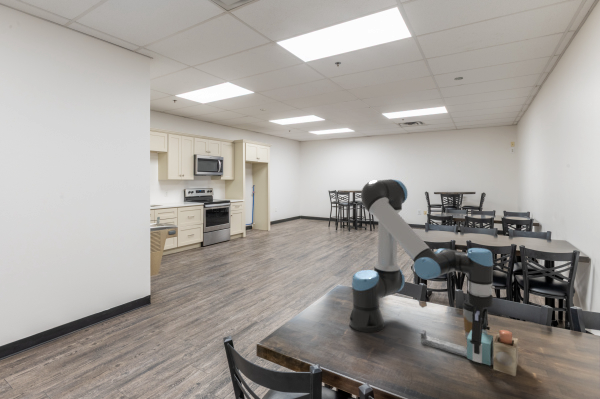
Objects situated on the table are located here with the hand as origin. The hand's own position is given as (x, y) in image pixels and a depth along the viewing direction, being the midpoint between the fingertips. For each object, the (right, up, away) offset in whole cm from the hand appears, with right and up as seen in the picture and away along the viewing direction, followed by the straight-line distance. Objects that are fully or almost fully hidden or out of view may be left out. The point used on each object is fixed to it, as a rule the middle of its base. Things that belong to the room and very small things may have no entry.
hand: (480, 353), depth 106 cm
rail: (-5, -2, +5) cm, 7 cm away
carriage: (0, -2, 0) cm, 2 cm away
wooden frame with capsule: (+6, -2, -5) cm, 8 cm away
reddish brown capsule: (+5, +7, -5) cm, 10 cm away
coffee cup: (+6, -1, +13) cm, 14 cm away
